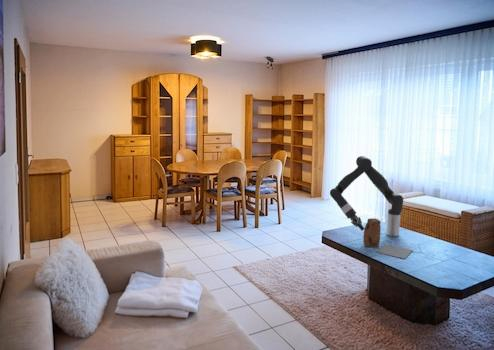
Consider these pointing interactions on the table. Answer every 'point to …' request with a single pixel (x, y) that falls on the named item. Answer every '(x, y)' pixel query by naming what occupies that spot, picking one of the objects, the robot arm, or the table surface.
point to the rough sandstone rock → (372, 233)
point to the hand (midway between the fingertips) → (363, 229)
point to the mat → (394, 251)
